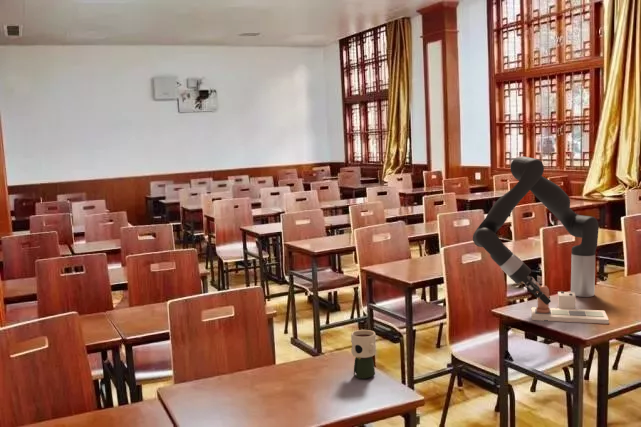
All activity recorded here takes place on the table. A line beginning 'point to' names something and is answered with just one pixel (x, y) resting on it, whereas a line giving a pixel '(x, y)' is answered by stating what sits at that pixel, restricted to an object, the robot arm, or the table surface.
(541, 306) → the pawn
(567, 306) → the die
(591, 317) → the game board
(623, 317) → the table surface
